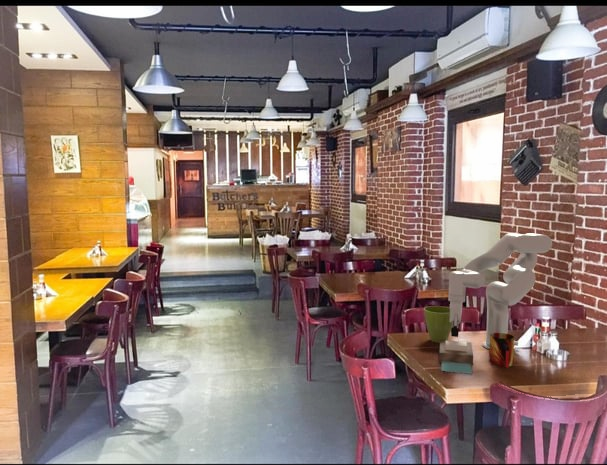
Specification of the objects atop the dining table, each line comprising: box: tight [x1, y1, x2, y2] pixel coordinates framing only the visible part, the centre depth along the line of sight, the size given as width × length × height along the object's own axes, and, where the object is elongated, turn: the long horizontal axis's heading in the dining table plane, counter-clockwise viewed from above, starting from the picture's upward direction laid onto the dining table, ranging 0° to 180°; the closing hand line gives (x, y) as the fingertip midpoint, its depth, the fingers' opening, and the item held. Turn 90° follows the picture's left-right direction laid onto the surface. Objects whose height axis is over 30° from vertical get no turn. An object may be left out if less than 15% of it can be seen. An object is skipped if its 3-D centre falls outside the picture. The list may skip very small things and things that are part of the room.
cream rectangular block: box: [446, 339, 468, 352], centre depth 223 cm, size 9×6×2 cm, turn 74°
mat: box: [440, 361, 473, 375], centre depth 210 cm, size 12×12×1 cm
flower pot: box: [423, 305, 452, 344], centre depth 248 cm, size 15×15×16 cm
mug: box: [488, 333, 515, 369], centre depth 214 cm, size 10×14×12 cm
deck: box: [438, 339, 474, 366], centre depth 225 cm, size 14×20×4 cm
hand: (454, 336), depth 234 cm, fingers closed
